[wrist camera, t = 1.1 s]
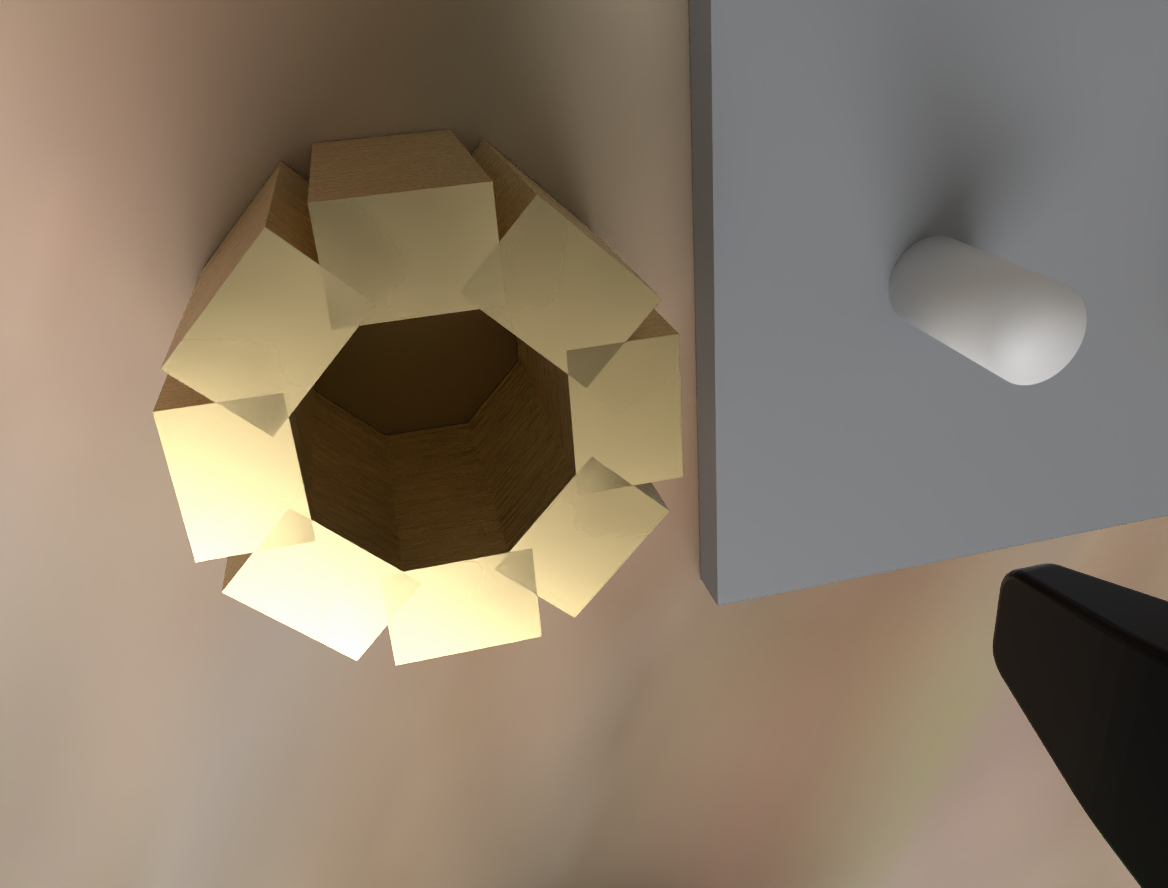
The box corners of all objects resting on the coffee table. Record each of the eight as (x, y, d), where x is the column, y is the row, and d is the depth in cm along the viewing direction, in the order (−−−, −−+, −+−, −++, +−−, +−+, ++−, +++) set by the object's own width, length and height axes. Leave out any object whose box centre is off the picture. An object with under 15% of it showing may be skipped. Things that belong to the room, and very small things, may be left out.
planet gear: (587, 114, 16) (674, 160, 12) (609, 473, 19) (686, 607, 15) (160, 159, 15) (99, 226, 11) (255, 534, 18) (234, 698, 14)
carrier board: (1492, -144, 18) (1784, -174, 14) (1318, 458, 23) (1499, 545, 19) (687, -88, 15) (799, -108, 11) (700, 578, 20) (780, 705, 17)
